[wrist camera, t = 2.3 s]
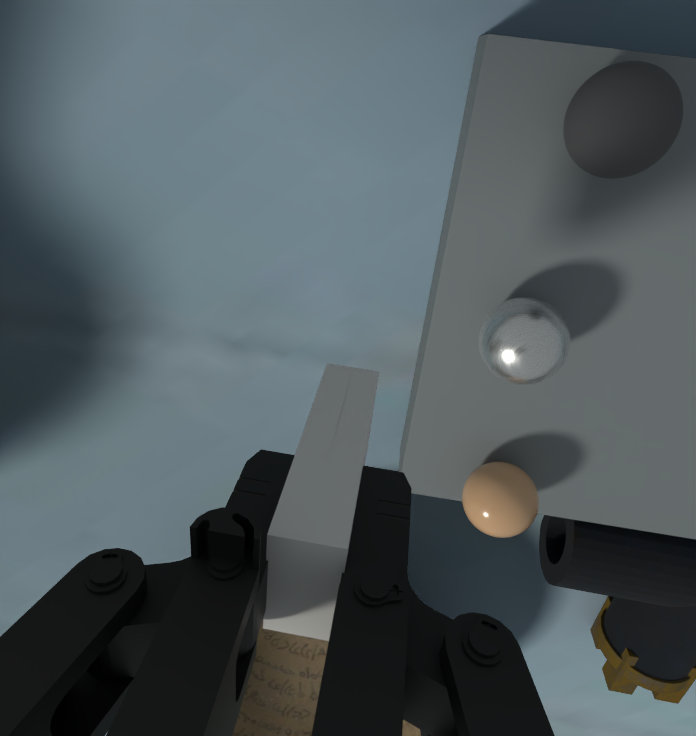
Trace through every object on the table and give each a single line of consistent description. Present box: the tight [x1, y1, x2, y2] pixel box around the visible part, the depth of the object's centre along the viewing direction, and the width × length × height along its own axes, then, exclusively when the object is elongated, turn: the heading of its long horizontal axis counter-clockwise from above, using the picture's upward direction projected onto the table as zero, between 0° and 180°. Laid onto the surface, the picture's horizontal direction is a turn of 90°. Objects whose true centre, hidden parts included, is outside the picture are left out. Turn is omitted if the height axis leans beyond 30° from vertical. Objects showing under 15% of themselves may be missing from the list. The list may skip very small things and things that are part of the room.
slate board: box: [399, 34, 696, 539], centre depth 24 cm, size 19×20×4 cm
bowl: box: [232, 620, 421, 736], centre depth 36 cm, size 18×18×8 cm
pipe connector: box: [539, 515, 696, 703], centre depth 31 cm, size 12×5×15 cm
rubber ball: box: [563, 61, 683, 179], centre depth 18 cm, size 3×3×3 cm
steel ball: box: [478, 297, 570, 385], centre depth 22 cm, size 3×3×3 cm
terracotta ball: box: [462, 462, 539, 538], centre depth 26 cm, size 3×3×3 cm
